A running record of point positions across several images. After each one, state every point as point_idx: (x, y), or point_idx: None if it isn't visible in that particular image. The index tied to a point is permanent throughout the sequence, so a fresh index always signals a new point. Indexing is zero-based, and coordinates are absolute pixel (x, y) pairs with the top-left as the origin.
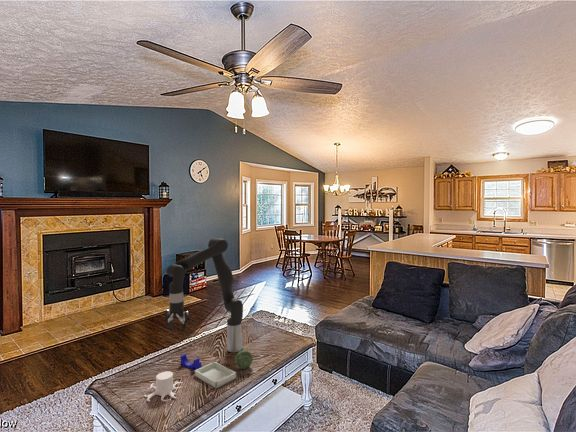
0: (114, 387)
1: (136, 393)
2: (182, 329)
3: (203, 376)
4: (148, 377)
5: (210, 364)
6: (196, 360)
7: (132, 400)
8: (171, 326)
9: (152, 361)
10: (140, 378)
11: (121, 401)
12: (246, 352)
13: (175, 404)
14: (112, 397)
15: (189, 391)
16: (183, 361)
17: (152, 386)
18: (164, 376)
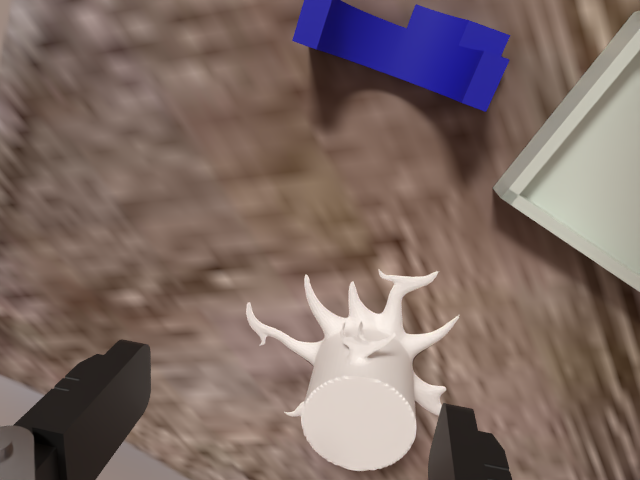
0: (69, 353)
1: (224, 396)
2: (429, 478)
3: (601, 265)
4: (177, 241)
5: (619, 72)
6: (489, 101)
7: (246, 448)
8: (128, 393)
9: (44, 12)
10: (137, 257)
11: (199, 455)
12: None
13: None
14: (132, 429)
15: (525, 366)
16: (335, 55)
17: (268, 334)
18: (364, 437)
